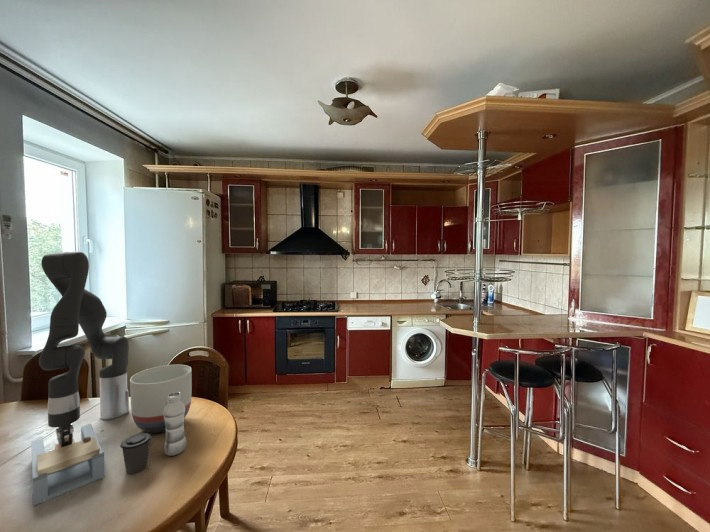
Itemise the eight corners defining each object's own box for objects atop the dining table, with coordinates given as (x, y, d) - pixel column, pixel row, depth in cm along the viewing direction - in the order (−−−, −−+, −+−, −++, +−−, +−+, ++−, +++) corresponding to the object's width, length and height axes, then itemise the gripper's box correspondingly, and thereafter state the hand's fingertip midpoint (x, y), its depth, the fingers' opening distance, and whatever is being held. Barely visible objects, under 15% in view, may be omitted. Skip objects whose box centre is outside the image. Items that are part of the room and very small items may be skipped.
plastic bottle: (190, 448, 107) (189, 391, 107) (173, 460, 101) (172, 400, 100) (176, 444, 109) (175, 389, 109) (159, 456, 103) (158, 397, 102)
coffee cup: (117, 481, 91) (117, 448, 91) (123, 465, 99) (122, 434, 98) (150, 472, 95) (149, 440, 95) (153, 457, 102) (153, 427, 102)
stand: (91, 441, 112) (91, 420, 112) (104, 476, 93) (104, 452, 93) (31, 461, 101) (31, 438, 101) (33, 505, 82) (32, 478, 82)
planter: (143, 449, 106) (141, 388, 106) (123, 430, 119) (121, 375, 118) (201, 424, 123) (201, 371, 122) (179, 409, 135) (178, 361, 134)
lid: (94, 442, 99) (94, 434, 99) (99, 455, 93) (99, 446, 93) (37, 462, 90) (36, 453, 90) (37, 478, 83) (37, 467, 83)
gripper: (82, 410, 97) (83, 463, 98) (77, 396, 107) (78, 444, 107) (49, 419, 92) (50, 475, 92) (46, 404, 101) (48, 454, 102)
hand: (65, 458), depth 100 cm, fingers open, 5 cm apart
